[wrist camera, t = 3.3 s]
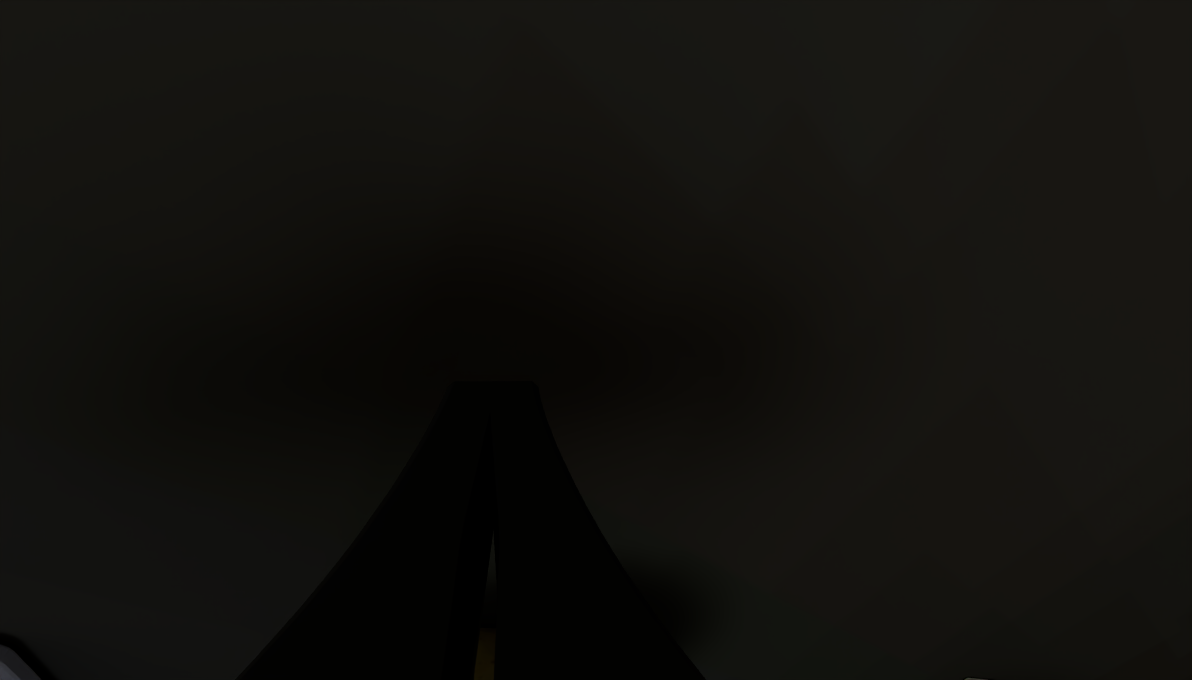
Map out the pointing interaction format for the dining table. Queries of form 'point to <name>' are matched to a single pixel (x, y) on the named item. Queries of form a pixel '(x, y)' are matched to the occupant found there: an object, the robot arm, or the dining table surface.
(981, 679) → the headphone stand
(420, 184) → the dining table surface
